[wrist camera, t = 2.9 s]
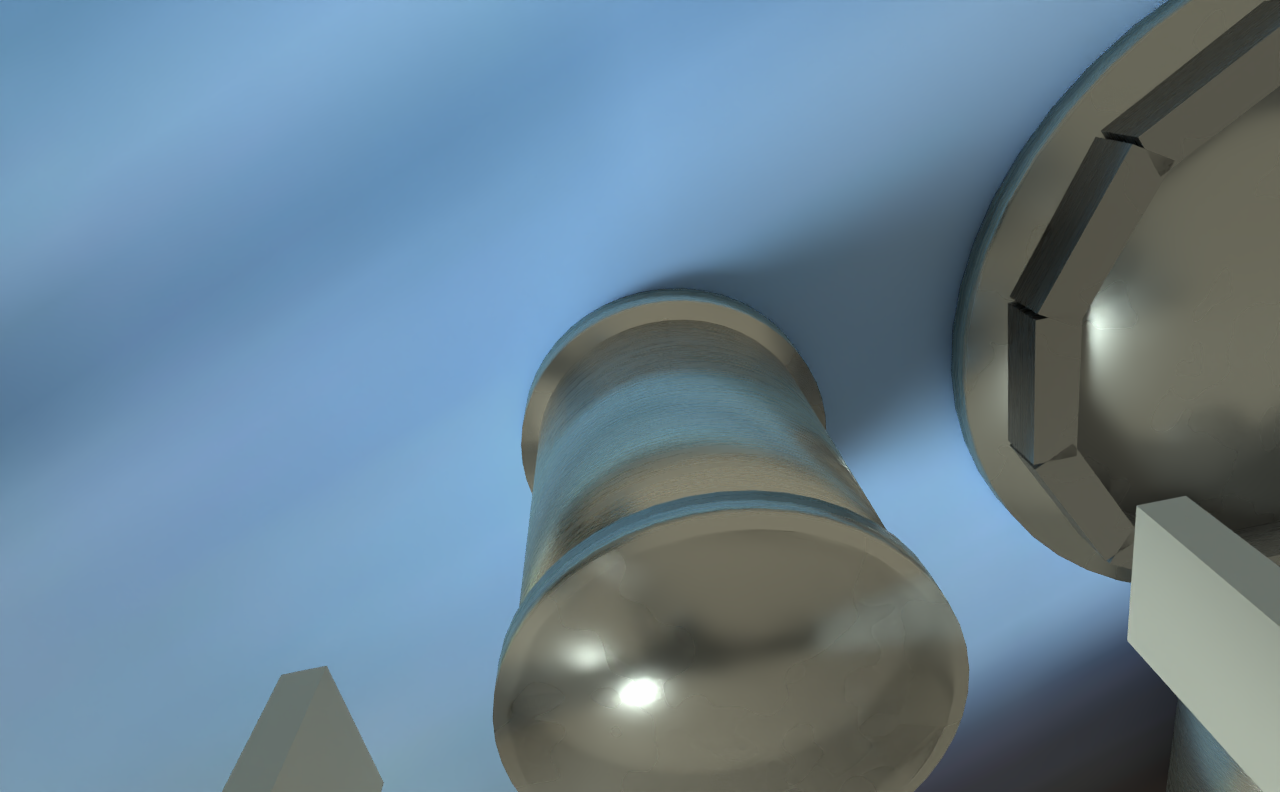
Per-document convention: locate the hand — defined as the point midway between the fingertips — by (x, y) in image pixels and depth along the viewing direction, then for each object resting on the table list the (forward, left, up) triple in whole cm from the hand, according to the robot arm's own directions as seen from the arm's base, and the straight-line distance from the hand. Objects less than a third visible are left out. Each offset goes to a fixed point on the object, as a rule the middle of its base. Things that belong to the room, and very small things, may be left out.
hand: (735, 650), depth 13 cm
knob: (0, 0, -7) cm, 7 cm away
